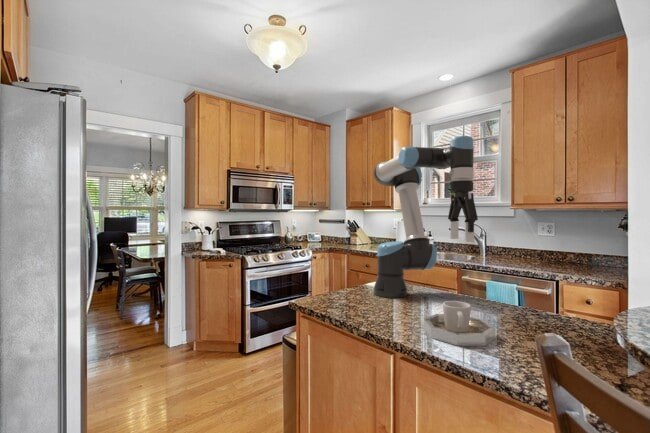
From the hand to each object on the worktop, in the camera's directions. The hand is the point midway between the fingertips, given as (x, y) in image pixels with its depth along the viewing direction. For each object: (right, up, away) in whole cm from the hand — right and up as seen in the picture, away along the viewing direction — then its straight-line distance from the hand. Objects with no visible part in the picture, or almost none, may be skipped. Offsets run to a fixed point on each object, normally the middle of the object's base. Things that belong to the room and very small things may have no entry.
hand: (461, 240), depth 115 cm
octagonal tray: (-9, -27, -18) cm, 33 cm away
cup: (-9, -27, -17) cm, 33 cm away
